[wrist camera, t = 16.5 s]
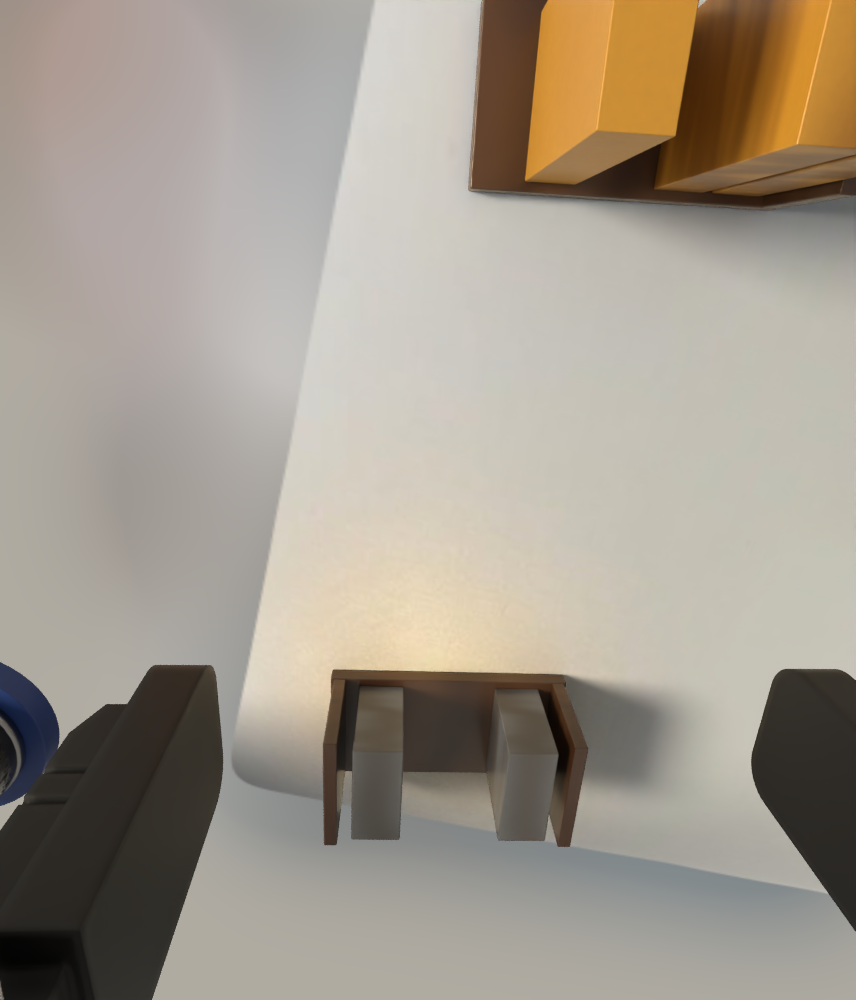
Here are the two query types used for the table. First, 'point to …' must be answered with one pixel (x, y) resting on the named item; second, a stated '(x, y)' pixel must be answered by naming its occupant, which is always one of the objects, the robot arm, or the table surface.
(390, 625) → the table surface
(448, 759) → the brown book rack
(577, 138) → the ochre book
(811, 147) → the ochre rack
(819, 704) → the robot arm
